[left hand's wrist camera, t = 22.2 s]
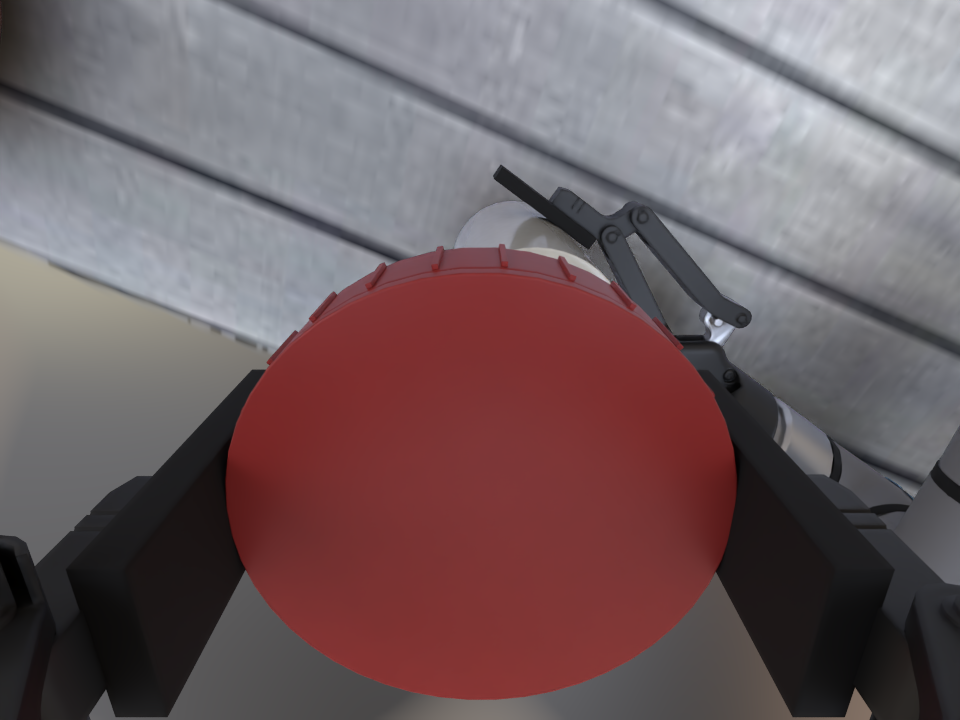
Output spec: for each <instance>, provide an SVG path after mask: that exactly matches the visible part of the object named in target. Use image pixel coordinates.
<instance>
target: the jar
mask: <svg viewBox="0 0 960 720" xmlns="http://www.w3.org/2000/svg"><path fill="white" fill-rule="evenodd" d="M499 244H505V248H506V249H512V250H520V251H528V252H532V253H536V254H540V255H544V256H547V257H551V258H555V259H558V257H559V256H563V257H565V259H566V260H567V262H568V263H569V264H571V265H574V266H576V267H578V268H581V269H583V270H586V271H588V272H590V273H592V274H594V275H595V276H597V277H599V278H600V279H602V280H604V281H606V282H607V283H609V284H611V283H610V281H609V280H608V279H607V278H606V276H605V275H604V274H603V273H602V272H601V271H600V270H599V268H598V267H597V266H596V265H595V264H594V263H593V262H592V260H591V259H590V258H589V257H588V256H587V255H586V254H585V252H584V251H583V250H582V249H581V248H580V247H579V246H578V245H577V243H576V242H575V241H574V240H573V239H572V238H571V237H570V235H568V234H567V233H566V232H564V231H563V230H562V229H560V228H559V227H558V226H556V225H555V224H554V223H552V222H551V221H550V220H548V219H547V218H546V217H544V216H543V215H542V214H540V213H539V212H537V211H536V210H535V209H533V208H532V207H531V206H529V205H528V204H527V203H525V202H522V201H504V202H499V203H495V204H492V205H489V206H487V207H485V208H483V209H482V210H480V211H479V212H477V213H476V214H475V215H473V216H472V217H471V218H470V219H469V220H468V221H467V222H466V224H465V225H464V226H463V228H462V229H461V231H460V233H459V235H458V237H457V239H456V242H455V245H454V249H457V248H490V247H497V248H499Z"/></svg>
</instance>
